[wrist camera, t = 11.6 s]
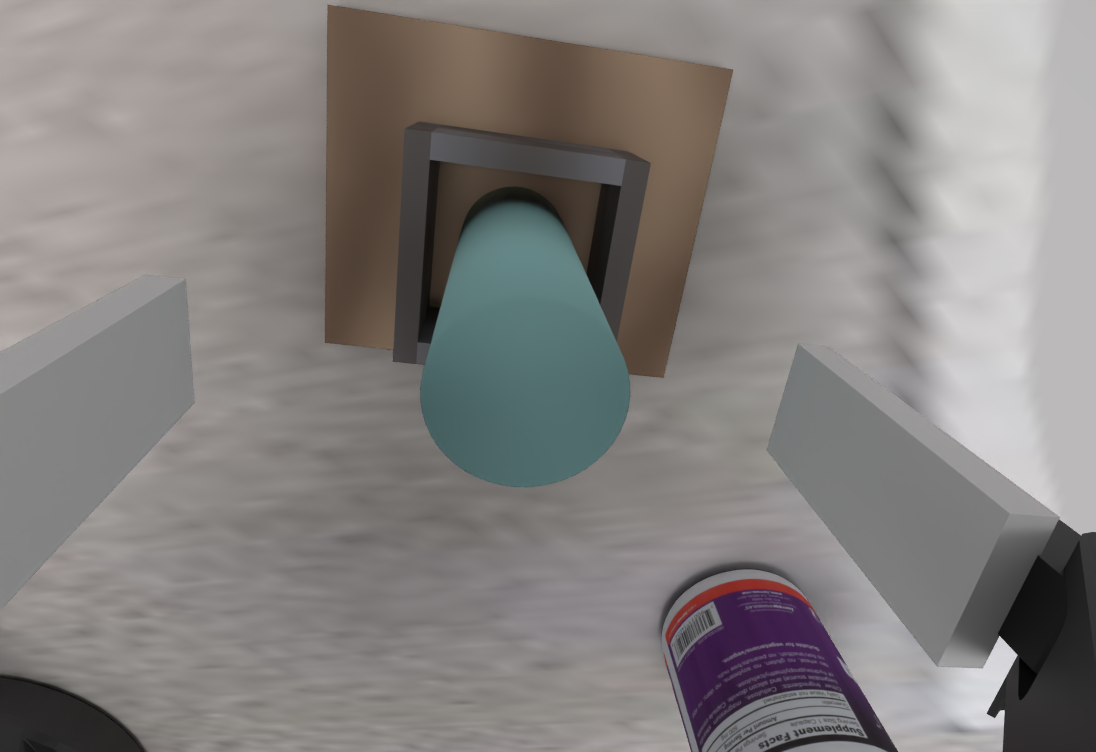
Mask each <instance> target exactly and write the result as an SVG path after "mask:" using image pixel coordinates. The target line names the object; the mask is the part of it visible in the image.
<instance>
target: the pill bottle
mask: <svg viewBox="0 0 1096 752" xmlns="http://www.w3.org/2000/svg"><path fill="white" fill-rule="evenodd" d="M662 650H663V655H664V658H665V663H666V666H667V670H668V673H669V676H670V680H671V683H672V686H673V690H674V694H675V697H676V701H677V704H678V708H679V711H680V714H681V718H682V721H683V725H684V728H685V731H686V735H687V738H688V742H689V745H690V749H691V752H898V751H897V749H896V747H895V746H894V744H893V742H892V741H891V739H890V737H889V736H888V734H887V732H886V731H885V729H884V727H883V726H882V724H881V722H880V721H879V719H878V717H877V716H876V714H875V712H874V711H873V709H872V707H871V706H870V704H869V702H868V700H867V699H866V697H865V695H864V694H863V692H862V690H861V689H860V687H859V685H858V684H857V682H856V680H855V678H854V677H853V675H852V673H851V672H850V670H849V668H848V667H847V665H846V663H845V662H844V660H843V658H842V657H841V655H840V653H839V652H838V650H837V648H836V647H835V645H834V643H833V642H832V640H831V638H830V637H829V635H828V633H827V632H826V630H825V628H824V627H823V625H822V623H821V621H820V620H819V618H818V616H817V615H816V613H815V611H814V609H813V608H812V606H811V605H810V603H809V602H808V600H807V599H806V597H805V596H804V594H803V593H802V592H801V591H800V590H799V589H798V588H797V587H796V586H794V585H793V584H792V583H790V582H789V581H787V580H786V579H784V578H782V577H780V576H778V575H775V574H773V573H769V572H765V571H760V570H748V569H744V570H734V571H728V572H724V573H720V574H717V575H714V576H711V577H708V578H706V579H704V580H702V581H700V582H698V583H697V584H695V585H694V586H692V587H691V588H689V589H688V590H687V591H686V592H684V593H683V594H682V595H681V596H680V597H679V598H678V599H677V600H676V602H675V603H674V605H673V606H672V608H671V609H670V611H669V613H668V615H667V617H666V620H665V622H664V626H663V631H662Z"/></svg>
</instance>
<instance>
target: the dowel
mask: <svg viewBox="0 0 1096 752" xmlns="http://www.w3.org/2000/svg"><path fill="white" fill-rule="evenodd" d="M629 400H630V381H629V374H628V370H627V366H626V363H625V360H624V357H623V355H622V353H621V351H620V348H619V346H618V344H617V342H616V340H615V337H614V335H613V333H612V331H611V328H610V326H609V324H608V322H607V319H606V317H605V315H604V313H603V311H602V308H601V306H600V304H599V302H598V299H597V297H596V295H595V293H594V290H593V288H592V286H591V284H590V282H589V279H588V277H587V275H586V273H585V270H584V268H583V266H582V264H581V261H580V259H579V257H578V255H577V253H576V250H575V248H574V246H573V244H572V241H571V239H570V237H569V235H568V232H567V230H566V228H565V226H564V223H563V221H562V219H561V217H560V215H559V213H558V211H557V210H556V208H555V207H554V206H553V205H552V203H551V202H550V201H548V200H547V199H546V198H545V197H544V196H542V195H541V194H539V193H537V192H535V191H533V190H530V189H527V188H523V187H514V186H512V187H503V188H498V189H496V190H493V191H491V192H489V193H487V194H485V195H484V196H482V197H481V198H480V199H478V200H477V201H476V202H475V203H474V205H473V206H472V207H471V208H470V210H469V211H468V213H467V215H466V217H465V219H464V222H463V226H462V229H461V233H460V237H459V240H458V244H457V248H456V252H455V255H454V259H453V263H452V266H451V270H450V274H449V278H448V281H447V285H446V289H445V292H444V296H443V300H442V304H441V307H440V311H439V315H438V318H437V322H436V326H435V330H434V333H433V337H432V341H431V344H430V348H429V352H428V356H427V359H426V363H425V367H424V370H423V374H422V380H421V387H420V401H421V407H422V413H423V417H424V420H425V423H426V426H427V428H428V430H429V432H430V435H431V436H432V438H433V440H434V441H435V443H436V444H437V446H438V447H439V448H440V449H441V451H442V452H443V453H444V454H445V455H446V456H447V457H448V458H449V459H450V460H451V461H452V462H453V463H455V464H456V465H457V466H459V467H460V468H462V469H463V470H464V471H466V472H468V473H470V474H472V475H474V476H475V477H478V478H480V479H483V480H485V481H488V482H491V483H495V484H499V485H505V486H512V487H534V486H542V485H547V484H552V483H555V482H559V481H562V480H565V479H567V478H569V477H572V476H574V475H576V474H578V473H579V472H581V471H583V470H584V469H586V468H588V467H589V466H590V465H592V464H593V463H594V462H596V461H597V460H598V459H599V458H600V457H601V456H602V455H603V454H604V453H605V452H606V451H607V450H608V448H609V447H610V446H611V445H612V443H613V442H614V441H615V439H616V437H617V436H618V434H619V432H620V431H621V428H622V426H623V424H624V421H625V419H626V415H627V412H628V408H629Z"/></svg>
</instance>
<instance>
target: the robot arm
mask: <svg viewBox="0 0 1096 752" xmlns="http://www.w3.org/2000/svg"><path fill="white" fill-rule="evenodd" d="M193 404H194V389H193V375H192V361H191V346H190V332H189V318H188V304H187V290H186V279H181V278H172V277H162V276H153V275H143V276H141V277H140V278H138V279H136V280H134V281H132V282H130V283H128V284H127V285H125V286H123V287H121V288H119V289H117V290H115V291H113V292H112V293H110V294H108V295H106V296H104V297H102V298H100V299H99V300H97V301H95V302H93V303H91V304H89V305H87V306H85V307H84V308H82V309H80V310H78V311H76V312H74V313H72V314H71V315H69V316H67V317H65V318H63V319H61V320H59V321H57V322H56V323H54V324H52V325H50V326H48V327H46V328H44V329H43V330H41V331H39V332H37V333H35V334H33V335H31V336H29V337H28V338H26V339H24V340H22V341H20V342H18V343H16V344H15V345H13V346H11V347H9V348H7V349H5V350H3V351H1V352H0V610H1V609H2V608H3V607H4V606H5V605H6V604H7V602H8V601H9V600H10V599H11V598H12V597H13V596H14V595H15V594H16V593H17V592H18V591H19V590H20V589H21V587H22V586H23V585H24V584H25V583H26V582H27V581H28V580H29V579H30V578H31V577H32V576H33V575H34V574H35V573H36V571H37V570H38V569H39V568H40V567H41V566H42V565H43V564H44V563H45V562H46V561H47V560H48V559H49V558H50V557H51V555H52V554H53V553H54V552H55V551H56V550H57V549H58V548H59V547H60V546H61V545H62V544H63V543H64V542H65V540H66V539H67V538H68V537H69V536H70V535H71V534H72V533H73V532H74V531H75V530H76V529H77V528H78V527H79V526H80V524H81V523H82V522H83V521H84V520H85V519H86V518H87V517H88V516H89V515H90V514H91V513H92V512H93V511H94V510H95V508H96V507H97V506H98V505H99V504H100V503H101V502H102V501H103V500H104V499H105V498H106V497H107V496H108V495H109V494H110V492H111V491H112V490H113V489H114V488H115V487H116V486H117V485H118V484H119V483H120V482H121V481H122V480H123V479H124V477H125V476H126V475H127V474H128V473H129V472H130V471H131V470H132V469H133V468H134V467H135V466H136V465H137V464H138V463H139V461H140V460H141V459H142V458H143V457H144V456H145V455H146V454H147V453H148V452H149V451H150V450H151V449H152V448H153V447H154V445H155V444H156V443H157V442H158V441H159V440H160V439H161V438H162V437H163V436H164V435H165V434H166V433H167V432H168V431H169V429H170V428H171V427H172V426H173V425H174V424H175V423H176V422H177V421H178V420H179V419H180V418H181V417H182V416H183V414H184V413H185V412H186V411H187V410H188V409H189V408H190V407H191V406H192V405H193ZM767 451H768V452H769V454H770V455H771V456H772V458H773V459H774V460H775V461H776V463H777V464H778V465H779V466H780V468H781V469H782V470H783V471H784V473H785V474H786V475H787V477H788V478H789V479H790V480H791V482H792V483H793V484H794V485H795V487H796V488H797V489H798V491H799V492H800V493H801V494H802V496H803V497H804V498H805V499H806V501H807V502H808V503H809V505H810V506H811V507H812V508H813V510H814V511H815V512H816V513H817V515H818V516H819V517H820V518H821V520H822V521H823V522H824V524H825V525H826V526H827V527H828V529H829V530H830V531H831V532H832V534H833V535H834V536H835V538H836V539H837V540H838V541H839V543H840V544H841V545H842V546H843V548H844V549H845V550H846V552H847V553H848V554H849V555H850V557H851V558H852V559H853V560H854V562H855V563H856V564H857V565H858V567H859V568H860V569H861V571H862V572H863V573H864V574H865V576H866V577H867V578H868V579H869V581H870V582H871V583H872V585H873V586H874V587H875V588H876V590H877V591H878V592H879V593H880V595H881V596H882V597H883V598H884V600H885V601H886V602H887V604H888V605H889V606H890V607H891V609H892V610H893V611H894V612H895V614H896V615H897V616H898V618H899V619H900V620H901V621H902V623H903V624H904V625H905V626H906V628H907V629H908V630H909V632H910V633H911V634H912V635H913V637H914V638H915V639H916V640H917V642H918V643H919V644H920V645H921V647H922V648H923V649H924V651H925V652H926V653H927V654H928V656H929V657H930V658H931V659H932V661H933V662H934V663H935V665H936V666H937V667H961V668H983V667H984V665H985V663H986V661H987V659H988V657H989V655H990V653H991V651H992V649H993V647H994V645H995V643H996V641H997V640H998V638H999V636H1000V637H1001V638H1002V639H1003V640H1004V641H1005V642H1006V643H1007V644H1008V645H1009V646H1010V647H1011V648H1012V649H1013V650H1014V651H1015V652H1016V653H1017V655H1018V656H1017V658H1016V659H1015V661H1014V663H1013V665H1012V667H1011V669H1010V671H1009V673H1008V674H1007V676H1006V678H1005V680H1004V682H1003V684H1002V686H1001V688H1000V689H999V691H998V693H997V695H996V697H995V699H994V701H993V703H992V704H991V706H990V708H989V710H988V712H987V714H988V715H990V716H992V717H994V718H995V717H996V716H997V714H998V712H999V711H1000V710H1005V718H1004V738H1003V752H1096V532H1090V533H1085V534H1082V536H1081V535H1079V534H1078V533H1077V532H1075V531H1074V530H1073V529H1071V528H1070V527H1069V526H1067V525H1066V524H1065V523H1063V522H1062V521H1061V520H1059V518H1060V517H1059V516H1058V515H1056V514H1055V513H1054V512H1052V511H1051V510H1050V509H1048V508H1047V507H1045V506H1044V505H1043V504H1041V503H1040V502H1039V501H1037V500H1036V499H1035V498H1033V497H1032V496H1031V495H1029V494H1028V493H1027V492H1025V491H1024V490H1022V489H1021V488H1020V487H1018V486H1017V485H1016V484H1014V483H1013V482H1012V481H1010V480H1009V479H1008V478H1006V477H1005V476H1003V475H1002V474H1001V473H999V472H998V471H997V470H995V469H994V468H993V467H991V466H990V465H989V464H987V463H986V462H985V461H983V460H982V459H980V458H979V457H978V456H976V455H975V454H974V453H972V452H971V451H970V450H968V449H967V448H966V447H964V446H963V445H962V444H960V443H959V442H957V441H956V440H955V439H953V438H952V437H951V436H949V435H948V434H947V433H945V432H944V431H943V430H941V429H940V428H939V427H937V426H936V425H934V424H933V423H932V422H930V421H929V420H928V419H926V418H925V417H924V416H922V415H921V414H920V413H918V412H917V411H916V410H914V409H913V408H911V407H910V406H909V405H907V404H906V403H905V402H903V401H902V400H901V399H899V398H898V397H897V396H895V395H894V394H893V393H891V392H890V391H888V390H887V389H886V388H884V387H883V386H882V385H880V384H879V383H878V382H876V381H875V380H874V379H872V378H871V377H870V376H868V375H867V374H865V373H864V372H863V371H861V370H860V369H859V368H857V367H856V366H855V365H853V364H852V363H851V362H849V361H848V360H846V359H845V358H844V357H842V356H841V355H840V354H838V353H837V352H836V351H834V350H833V349H832V348H830V347H824V346H815V345H805V344H798V346H797V350H796V353H795V356H794V360H793V363H792V366H791V370H790V373H789V376H788V380H787V383H786V387H785V390H784V393H783V397H782V400H781V403H780V407H779V410H778V413H777V417H776V420H775V423H774V427H773V430H772V433H771V437H770V440H769V443H768V447H767ZM0 752H142V751H141V750H140V748H139V747H138V746H137V744H136V743H135V742H134V740H133V739H132V738H131V737H130V736H129V735H128V734H127V733H126V732H125V731H124V730H123V729H122V728H121V727H119V726H118V725H117V724H116V723H115V722H113V721H112V720H111V719H109V718H108V717H106V716H105V715H104V714H102V713H101V712H99V711H97V710H96V709H94V708H92V707H90V706H89V705H87V704H85V703H83V702H81V701H79V700H77V699H75V698H73V697H70V696H68V695H66V694H63V693H60V692H58V691H55V690H52V689H49V688H46V687H43V686H39V685H35V684H32V683H27V682H23V681H18V680H12V679H6V678H0Z"/></svg>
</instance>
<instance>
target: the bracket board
mask: <svg viewBox="0 0 1096 752" xmlns="http://www.w3.org/2000/svg"><path fill="white" fill-rule="evenodd" d="M732 73H733V70H732V69H726V68H720V67H713V66H707V65H701V64H695V63H688V62H682V61H676V60H670V59H663V58H657V57H651V56H645V55H638V54H632V53H626V52H620V51H613V50H607V49H601V48H595V47H589V46H582V45H576V44H570V43H564V42H557V41H551V40H545V39H539V38H532V37H526V36H520V35H514V34H507V33H501V32H495V31H489V30H482V29H476V28H470V27H464V26H458V25H451V24H445V23H439V22H433V21H426V20H420V19H414V18H408V17H401V16H395V15H389V14H383V13H376V12H370V11H364V10H358V9H351V8H345V7H339V6H333V5H328V21H327V156H326V290H325V343H333V344H343V345H352V346H362V347H372V348H381V349H391V350H393V362H402V363H412V364H422V365H425V363H426V359H427V356H428V352H429V348H430V344H431V341H432V337H433V333H434V330H435V326H436V322H437V318H438V315H439V311H440V307H441V304H442V300H443V296H444V292H445V289H446V285H447V281H448V278H449V274H450V270H451V266H452V263H453V259H454V255H455V252H456V248H457V244H458V240H459V237H460V233H461V229H462V226H463V222H464V219H465V217H466V215H467V213H468V211H469V210H470V208H471V207H472V206H473V205H474V203H475V202H476V201H477V200H478V199H480V198H481V197H482V196H484V195H485V194H487V193H489V192H491V191H493V190H496V189H498V188H503V187H512V186H514V187H523V188H527V189H530V190H533V191H535V192H537V193H539V194H541V195H542V196H544V197H545V198H546V199H547V200H548V201H550V202H551V203H552V205H553V206H554V207H555V208H556V210H557V211H558V213H559V215H560V217H561V219H562V221H563V223H564V226H565V228H566V230H567V232H568V235H569V237H570V239H571V241H572V244H573V246H574V248H575V250H576V253H577V255H578V257H579V259H580V261H581V264H582V266H583V268H584V270H585V273H586V275H587V277H588V279H589V282H590V284H591V286H592V288H593V290H594V293H595V295H596V297H597V299H598V302H599V304H600V306H601V308H602V311H603V313H604V315H605V317H606V319H607V322H608V324H609V326H610V328H611V331H612V333H613V335H614V337H615V340H616V342H617V344H618V346H619V348H620V351H621V353H622V355H623V357H624V360H625V363H626V366H627V370H628V374H632V375H642V376H652V377H661V378H664V374H665V369H666V365H667V360H668V356H669V351H670V347H671V343H672V338H673V334H674V329H675V325H676V320H677V316H678V312H679V307H680V303H681V298H682V294H683V290H684V285H685V281H686V276H687V272H688V267H689V263H690V259H691V254H692V250H693V245H694V241H695V237H696V232H697V228H698V223H699V219H700V214H701V210H702V206H703V201H704V197H705V192H706V188H707V183H708V179H709V175H710V170H711V166H712V161H713V157H714V153H715V148H716V144H717V139H718V135H719V130H720V126H721V122H722V117H723V113H724V108H725V104H726V100H727V95H728V91H729V86H730V82H731V77H732Z"/></svg>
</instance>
